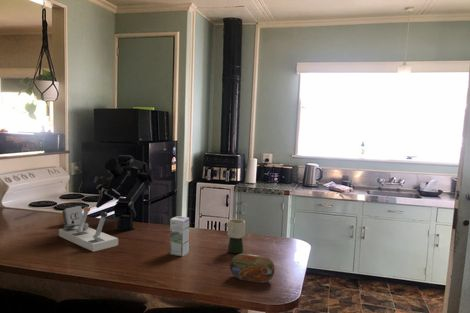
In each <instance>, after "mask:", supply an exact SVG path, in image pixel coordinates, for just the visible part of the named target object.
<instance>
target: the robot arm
mask: <svg viewBox="0 0 470 313" xmlns="http://www.w3.org/2000/svg"><path fill="white" fill-rule="evenodd" d="M148 164H149V163H148V162H143V161H140V160H137V159H135V157H133V155H130V154H129V155H127V154H123V155H122V154H119V155H117V157H115V156H114V157H113V156H112V157H111V158H110V159H109V160H108V161H107V162H106V163H105V164H104V168H105V169H104V170H106V171H108V173H110V174H111V177H110V176H109V177H107V176H104V175H101V176H96V175H95V177H94V181H93V184H96V185H97V186H96V187H95V189H96V190H98V193H99V197H98V199H97V202H96V204H95V208H96V209H99V208H100V207H102V206H103V205H105V204H107V203H109V202H110V201H113V200H114V199H115V200H117V201H116V202H115V205H114V206H113V212H114V216H115V218H117V225H116V226H117V227H115V229H116V230H117V231H121V232H128V231H132V230H135V227H134V219H135V218H136V216H137V211H136V209H135V206H134V204H135V202H136V201H137V200H138V198H139V197H140V195H141V194H142V192H143V191H144V190H145V188H147V187H150V186H152V184H153V183H154V181H155V175H154V172H153V170H152V169H151V168H150V167H149V165H148ZM128 168H133V169H136V173H135V177H136V183H135V184H134V185H133V187H132V189H131V190H130V191H129V192H128V194H127V195H126V196H125V197H121V193H119V192H118V189H119V188H120V187H123V183H124V181H125V180H126V178H128V176H129V177H131V175H132V174H131V173H132V172H131V170H130V169H128ZM143 170H144V172H140V171H143Z"/></svg>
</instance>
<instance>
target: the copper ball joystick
mask: <svg viewBox="0 0 470 313" xmlns="http://www.w3.org/2000/svg"><path fill="white" fill-rule="evenodd" d="M90 211H91V207H90V206H88V205H87V206H84V207H83V212H82V213H83V216H82V219H81V222H80V224H79V225H78V226H79V227H78V229H77V230H76V231H77V232H79V233H83V227H84V224H85V223H86V220H87V218H88V214H89V212H90Z"/></svg>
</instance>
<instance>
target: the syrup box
mask: <svg viewBox="0 0 470 313" xmlns="http://www.w3.org/2000/svg"><path fill="white" fill-rule="evenodd" d="M169 224H170V225H169V226H170V230H169V233H170V234H169V237H170V238H169V255H170V256H176V257H177V256H178V257H184V256H186V255H188V254H189V251H190V250H189V248H190V246H189V244H190V242H189V240H190V238H189V236H190V217H185V216H174V217H172V218H170V222H169Z"/></svg>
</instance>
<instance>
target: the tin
mask: <svg viewBox="0 0 470 313" xmlns="http://www.w3.org/2000/svg"><path fill="white" fill-rule="evenodd" d="M229 269H230V272H231V274H232V275H233V276H234V277H235V279H238V280H241V281H246V282H253V283H260V284H266V283H268V282H270V281H271V280H272V278H273V276H274V275H275V272H276V271H275V270H276V269H275V264H274V262H273V261H272V260H271V259H270V258H269V257H267V256H266V255H265V256H264V255H258V254H257V255H256V254H250V253H245V252H244V253H243V252H242V253H237V254H236V255H234V256H233V257H232V258H231V260H230V262H229Z"/></svg>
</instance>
